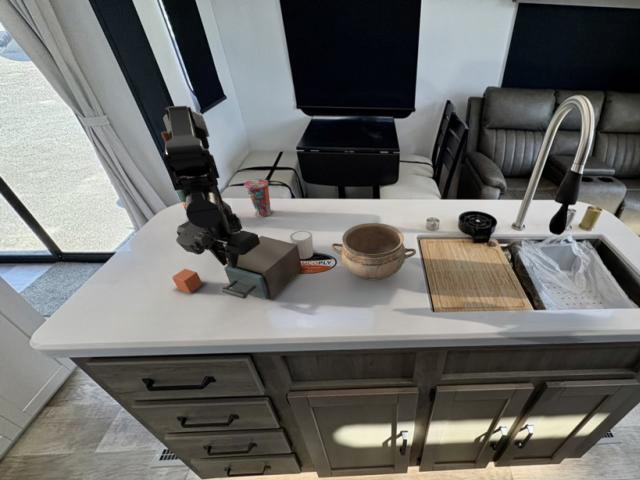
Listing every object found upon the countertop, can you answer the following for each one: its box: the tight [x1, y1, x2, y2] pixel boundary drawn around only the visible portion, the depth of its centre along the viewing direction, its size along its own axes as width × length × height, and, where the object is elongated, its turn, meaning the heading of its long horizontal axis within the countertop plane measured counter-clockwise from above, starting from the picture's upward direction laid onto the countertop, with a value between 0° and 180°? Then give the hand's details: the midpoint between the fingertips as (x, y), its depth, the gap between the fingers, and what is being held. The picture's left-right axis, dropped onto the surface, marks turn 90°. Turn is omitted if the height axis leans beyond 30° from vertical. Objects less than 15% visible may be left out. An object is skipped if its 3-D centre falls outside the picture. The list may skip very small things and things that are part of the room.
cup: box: [243, 178, 272, 217], centre depth 122 cm, size 9×8×12 cm
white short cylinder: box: [289, 230, 314, 260], centre depth 104 cm, size 7×7×7 cm
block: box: [171, 268, 203, 294], centre depth 91 cm, size 4×4×4 cm
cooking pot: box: [330, 222, 417, 281], centre depth 96 cm, size 25×19×12 cm
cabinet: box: [226, 235, 303, 300], centre depth 93 cm, size 15×13×9 cm
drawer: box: [220, 265, 269, 300], centre depth 90 cm, size 18×11×7 cm, turn 159°
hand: (229, 266), depth 80 cm, fingers open, 3 cm apart
